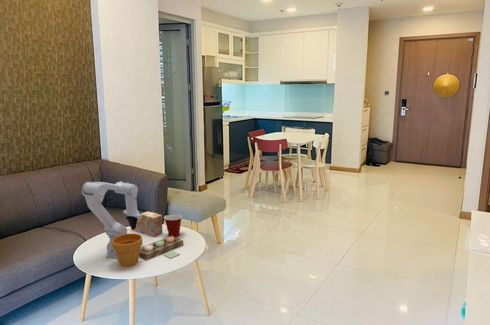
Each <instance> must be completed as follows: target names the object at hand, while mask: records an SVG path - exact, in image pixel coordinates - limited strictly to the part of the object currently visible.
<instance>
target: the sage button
mask: <svg viewBox="0 0 490 325" xmlns="http://www.w3.org/2000/svg"><path fill="white" fill-rule="evenodd" d="M161 240H162V239H160V241H159V240H156V241H154V242H155V243H156V247H158V248H159V247H162V246H164V241H161Z"/></svg>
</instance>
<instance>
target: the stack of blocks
mask: <svg viewBox="0 0 490 325" xmlns="http://www.w3.org/2000/svg"><path fill="white" fill-rule="evenodd" d="M139 214H140V215H141V217H142V218H141V219H138V220H137V224H136V228H135V229H131V230H132V231H134V232H137V233H139V234H144V235H147V236H150V237H152V238H157V237H159V236H162V235H163V233H164V232H163V215H162V214H159V213H156V212H151V211H145V212H142V213H139Z"/></svg>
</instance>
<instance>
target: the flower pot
mask: <svg viewBox="0 0 490 325" xmlns="http://www.w3.org/2000/svg"><path fill="white" fill-rule="evenodd" d="M112 245H113V249H114V250H115V251H116V254H117V257H118V258H117V260H118V263H119V266H121V267H124V268H130V267H133V266H136V265H138V263H139V260H140V257H139V254H140V247H143V236H142V235H141V234H140V233H139V234H138V233H132V232H131V233H129V232H128V233H127V234H123V235H119V236H117V237H115V238H114V239H113V240H112Z"/></svg>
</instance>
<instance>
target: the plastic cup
mask: <svg viewBox="0 0 490 325" xmlns="http://www.w3.org/2000/svg"><path fill="white" fill-rule="evenodd" d="M163 219H164V222H165V226H166V230H167V234H168V237H170V236H174V237H176V238H178V237H179V236H180V231H181V223H182V219H183V215H180V214H170V215H169V214H168V215H165V216H164V217H163Z"/></svg>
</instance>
